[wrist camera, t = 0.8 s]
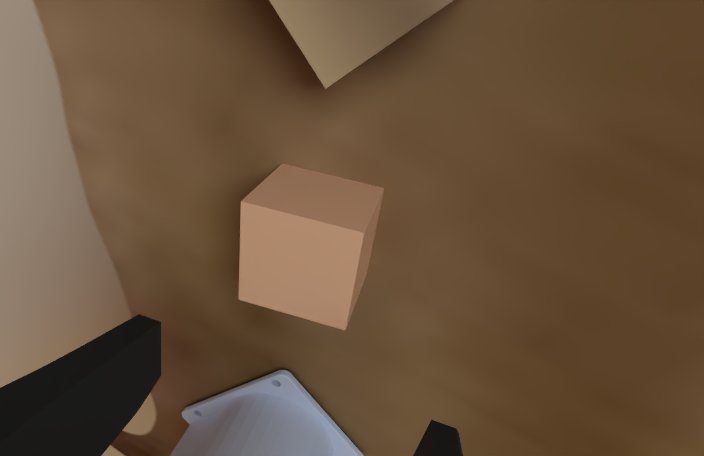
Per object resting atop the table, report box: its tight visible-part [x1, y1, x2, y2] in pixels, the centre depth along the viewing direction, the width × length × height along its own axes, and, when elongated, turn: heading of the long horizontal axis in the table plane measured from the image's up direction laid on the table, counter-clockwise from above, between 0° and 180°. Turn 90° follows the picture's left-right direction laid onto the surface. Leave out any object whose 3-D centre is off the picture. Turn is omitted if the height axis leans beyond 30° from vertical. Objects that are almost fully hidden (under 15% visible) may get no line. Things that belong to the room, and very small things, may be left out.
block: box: [239, 164, 384, 330], centre depth 18 cm, size 4×4×4 cm
